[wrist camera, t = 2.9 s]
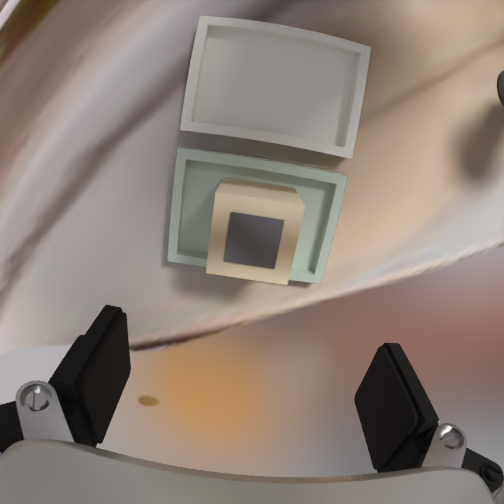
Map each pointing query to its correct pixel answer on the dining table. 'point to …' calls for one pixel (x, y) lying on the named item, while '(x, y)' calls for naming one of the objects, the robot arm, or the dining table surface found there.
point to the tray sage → (260, 170)
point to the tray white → (275, 85)
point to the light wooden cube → (254, 230)
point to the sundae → (501, 86)
